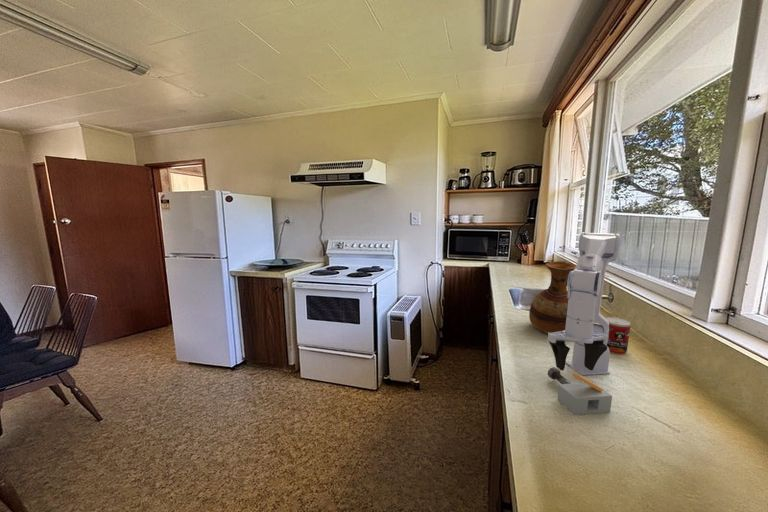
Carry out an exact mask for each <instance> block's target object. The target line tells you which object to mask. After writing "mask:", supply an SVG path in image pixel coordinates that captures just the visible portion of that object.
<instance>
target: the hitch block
mask: <svg viewBox="0 0 768 512" xmlns="http://www.w3.org/2000/svg"><path fill="white" fill-rule="evenodd" d="M592 382H593V383H595V381H592ZM595 384H596V385H597V386H599V385H598V384H597V383H595ZM599 387H600V388H602V387H601V386H599ZM602 389H603V390H602V392H600V391H598V390H597V389H595V388H593V387H591V386H589V385H587V384H586V383H584V382H576V383H575V382H571V384H561V383H559V384H558V390H557V399H556V400H557V401H558V402H559V403H560V404H561V405H562V406H563V407H564V406H565V407H564V408H565V409H567V410H568V411H569V412H570V413H571V415H573V416H579V415H580V416H581V415H591V414H592V415H593V414H602V413H603V414H605V413H611V410H612V409H611V408H612V401H613V395H612V394H610V393H609V392H608V391H607V390H605V389H604V388H602Z"/></svg>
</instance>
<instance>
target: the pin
mask: <svg viewBox="0 0 768 512" xmlns="http://www.w3.org/2000/svg"><path fill="white" fill-rule="evenodd" d="M547 376H548V377H549V378H550V379H551V380H556V381H557V382H559V384H571V383H572V382H571V381H570V380H568V379H567V378H565V377H564V376H563V375H562V374H561V370H560V369H559V368H557V367H550V368H549V369H548V370H547Z"/></svg>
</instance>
